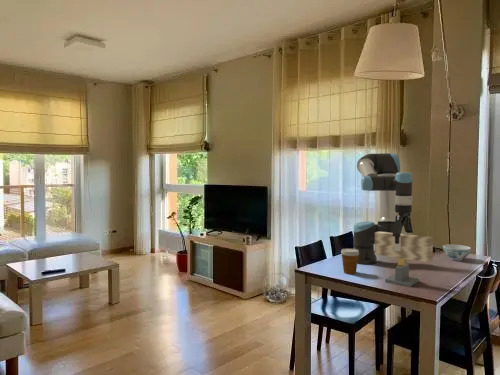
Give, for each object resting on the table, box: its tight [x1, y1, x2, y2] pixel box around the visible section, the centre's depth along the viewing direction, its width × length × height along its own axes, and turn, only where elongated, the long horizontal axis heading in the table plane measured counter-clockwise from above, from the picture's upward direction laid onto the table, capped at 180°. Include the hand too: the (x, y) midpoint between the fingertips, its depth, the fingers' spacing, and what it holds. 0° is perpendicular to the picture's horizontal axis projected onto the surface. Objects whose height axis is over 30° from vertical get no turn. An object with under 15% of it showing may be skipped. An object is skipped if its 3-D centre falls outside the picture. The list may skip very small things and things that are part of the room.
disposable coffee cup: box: [340, 248, 359, 275], centre depth 206 cm, size 10×10×12 cm
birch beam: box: [374, 231, 434, 263], centre depth 189 cm, size 26×5×11 cm, turn 49°
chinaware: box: [442, 243, 472, 262], centre depth 234 cm, size 15×15×8 cm
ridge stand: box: [384, 258, 420, 288], centre depth 189 cm, size 12×12×12 cm
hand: (402, 248), depth 189 cm, fingers open, 13 cm apart
